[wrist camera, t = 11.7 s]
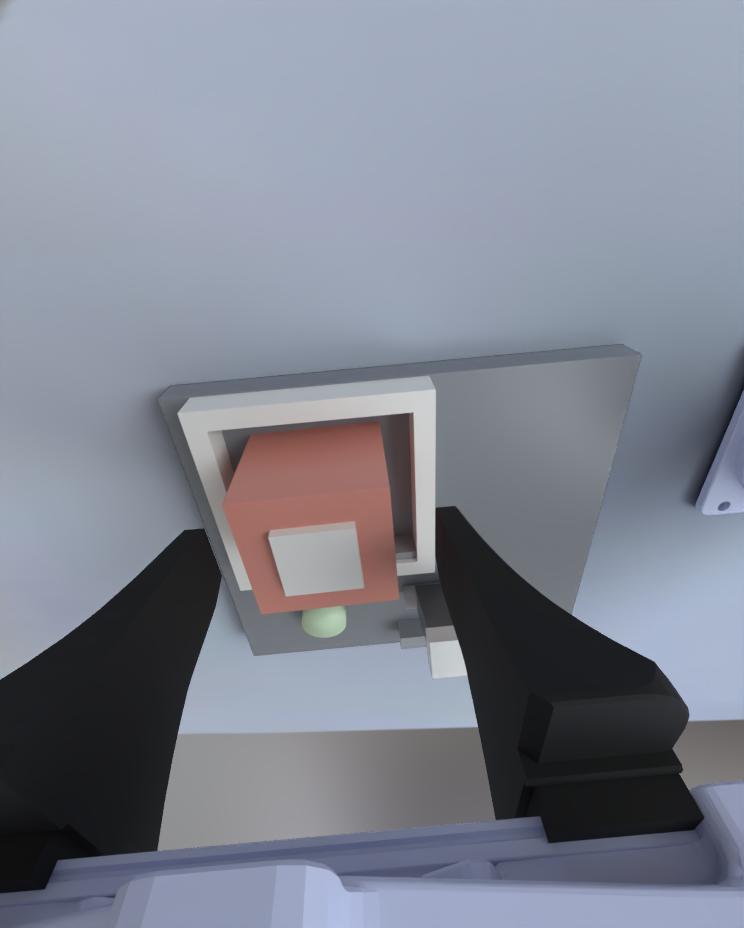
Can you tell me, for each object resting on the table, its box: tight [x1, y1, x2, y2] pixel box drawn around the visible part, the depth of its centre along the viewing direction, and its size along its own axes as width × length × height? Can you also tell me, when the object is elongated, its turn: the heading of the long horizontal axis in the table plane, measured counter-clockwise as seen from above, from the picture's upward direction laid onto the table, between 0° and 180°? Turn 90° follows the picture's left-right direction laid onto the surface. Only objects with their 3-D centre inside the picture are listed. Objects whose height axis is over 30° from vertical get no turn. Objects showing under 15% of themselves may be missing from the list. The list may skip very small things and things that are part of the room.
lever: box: [403, 582, 467, 679], centre depth 16 cm, size 3×1×6 cm, turn 94°
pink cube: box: [222, 421, 399, 614], centre depth 14 cm, size 4×4×4 cm
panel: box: [157, 344, 642, 656], centre depth 17 cm, size 16×14×2 cm
